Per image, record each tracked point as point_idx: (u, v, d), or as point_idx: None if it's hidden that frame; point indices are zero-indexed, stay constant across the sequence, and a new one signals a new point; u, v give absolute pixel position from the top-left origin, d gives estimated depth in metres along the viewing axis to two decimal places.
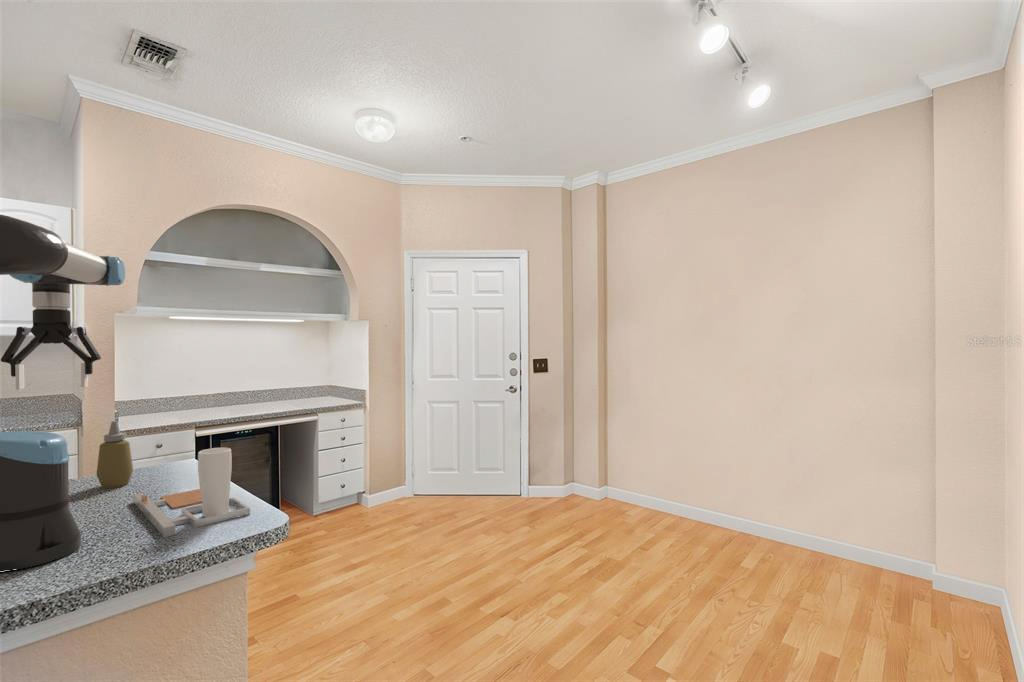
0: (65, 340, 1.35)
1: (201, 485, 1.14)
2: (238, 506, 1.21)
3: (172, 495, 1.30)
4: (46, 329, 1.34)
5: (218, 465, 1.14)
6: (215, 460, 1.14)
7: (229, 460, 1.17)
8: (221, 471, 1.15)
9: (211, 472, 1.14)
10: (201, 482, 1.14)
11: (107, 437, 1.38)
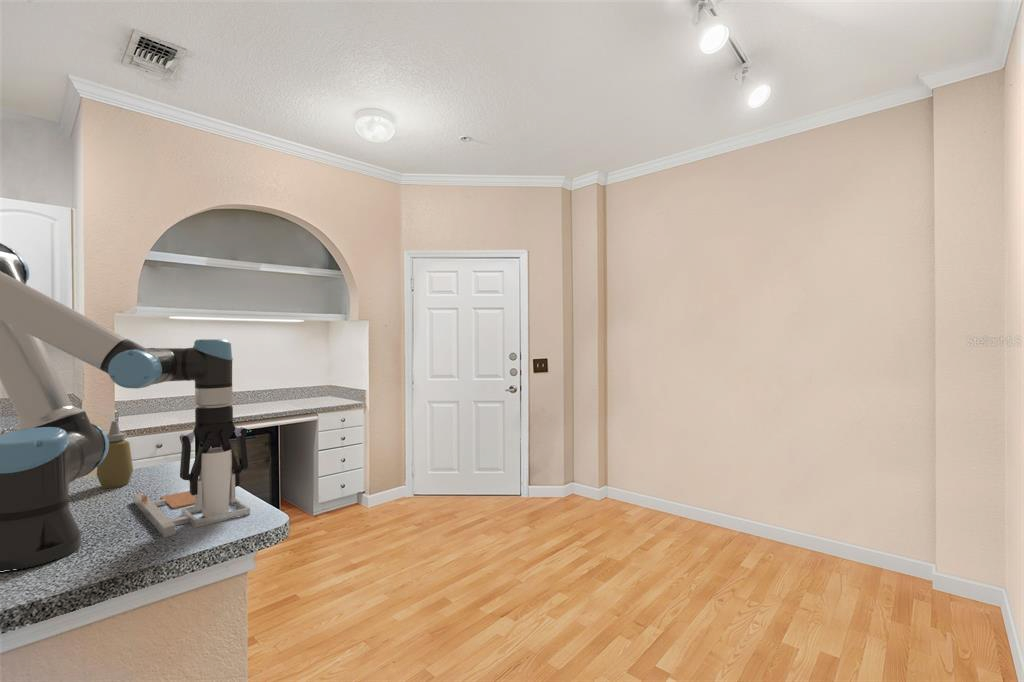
0: (228, 444, 1.17)
1: None
2: (238, 506, 1.21)
3: (172, 495, 1.30)
4: (210, 426, 1.15)
5: (218, 465, 1.14)
6: (215, 460, 1.14)
7: (229, 460, 1.17)
8: (221, 471, 1.15)
9: (212, 472, 1.14)
10: None
11: None
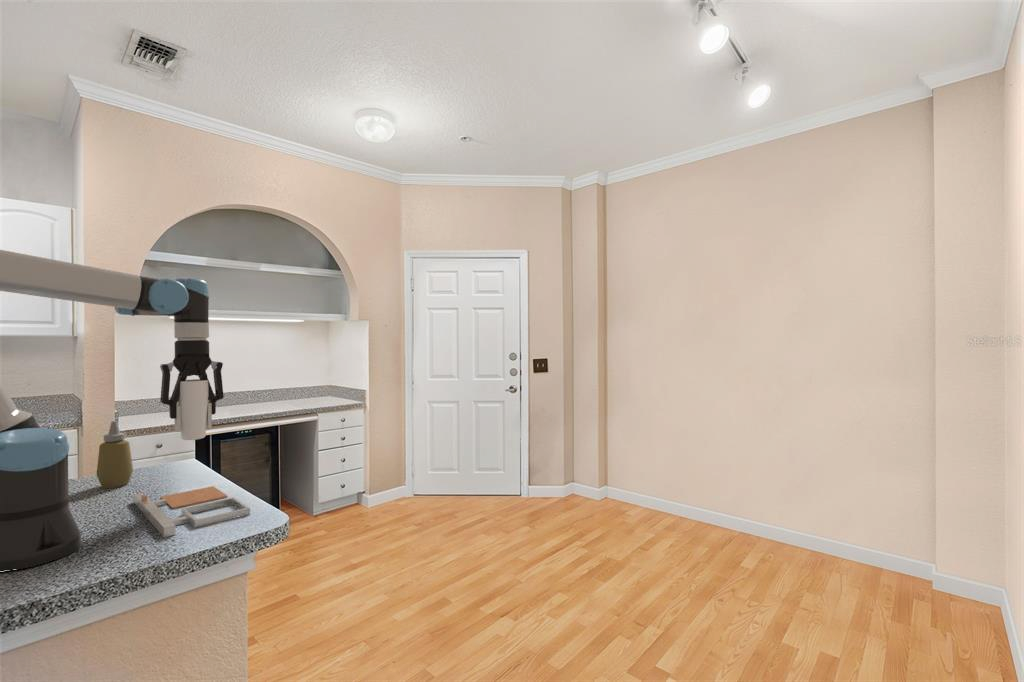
0: (205, 374, 1.30)
1: None
2: (238, 506, 1.21)
3: (172, 495, 1.30)
4: (188, 358, 1.28)
5: (195, 392, 1.27)
6: (193, 387, 1.26)
7: (206, 389, 1.29)
8: (198, 398, 1.27)
9: (189, 398, 1.26)
10: (180, 407, 1.26)
11: (107, 437, 1.38)
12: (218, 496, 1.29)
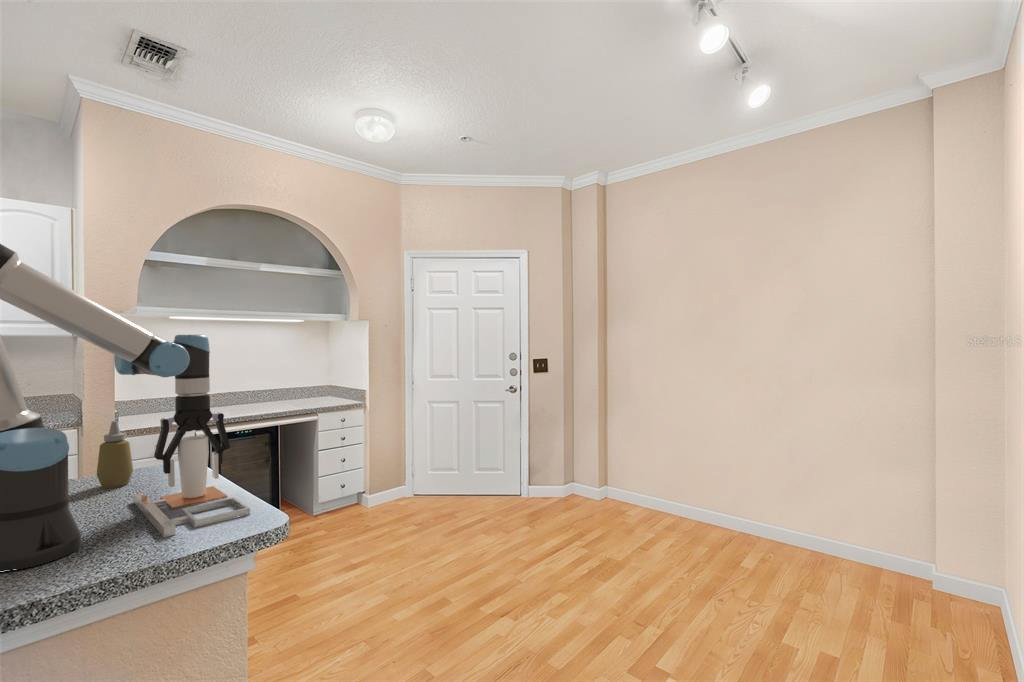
0: (207, 428, 1.30)
1: (180, 469, 1.27)
2: (238, 506, 1.21)
3: (172, 495, 1.30)
4: (190, 414, 1.28)
5: (196, 451, 1.27)
6: (193, 446, 1.27)
7: (206, 446, 1.29)
8: (199, 456, 1.27)
9: (190, 457, 1.26)
10: (180, 466, 1.27)
11: (107, 437, 1.38)
12: (218, 496, 1.29)
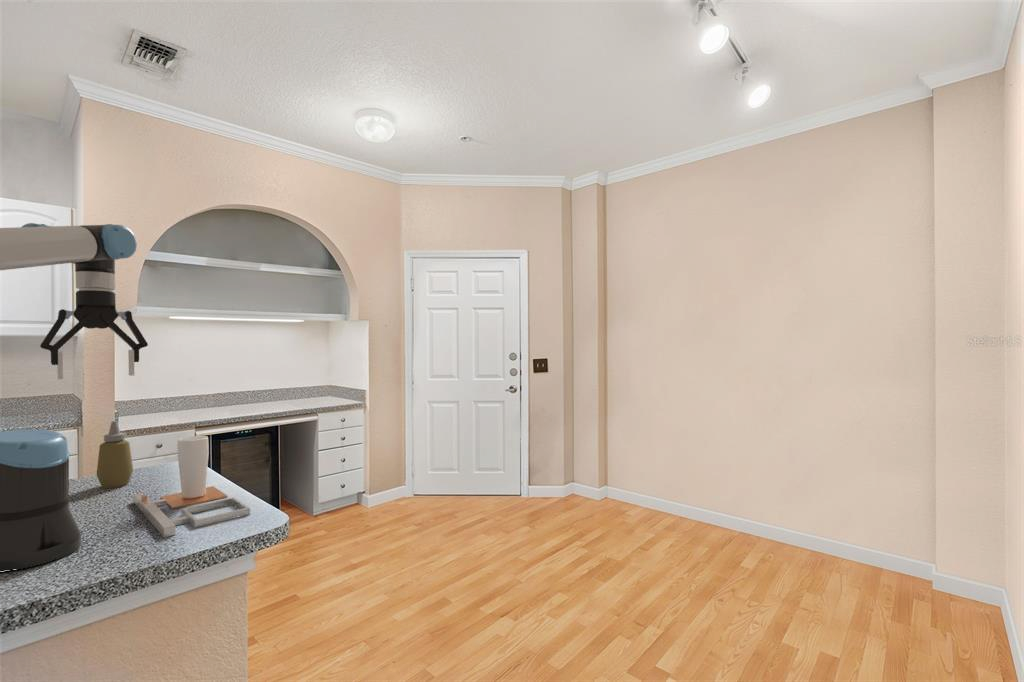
0: (114, 325, 1.25)
1: (180, 469, 1.27)
2: (238, 506, 1.21)
3: (172, 495, 1.30)
4: (92, 312, 1.22)
5: (196, 451, 1.27)
6: (193, 446, 1.26)
7: (206, 447, 1.29)
8: (199, 456, 1.27)
9: (190, 457, 1.26)
10: (180, 466, 1.27)
11: (107, 437, 1.38)
12: (218, 496, 1.29)
